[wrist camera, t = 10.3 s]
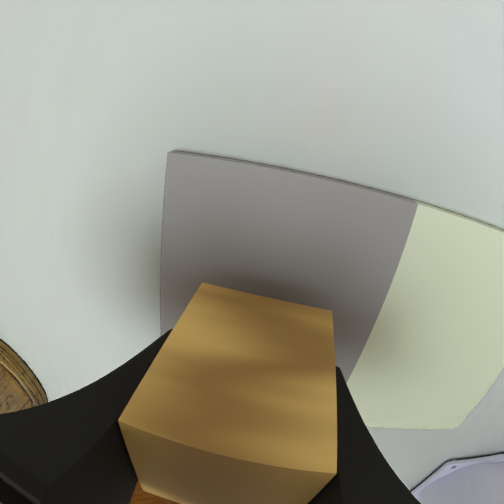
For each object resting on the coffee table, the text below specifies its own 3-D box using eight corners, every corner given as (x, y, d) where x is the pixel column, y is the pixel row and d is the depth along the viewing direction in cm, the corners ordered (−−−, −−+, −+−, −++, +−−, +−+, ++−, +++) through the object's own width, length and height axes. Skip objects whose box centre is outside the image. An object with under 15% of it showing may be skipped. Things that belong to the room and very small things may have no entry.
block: (332, 310, 10) (336, 473, 5) (299, 394, 12) (283, 525, 7) (202, 282, 11) (118, 420, 5) (196, 371, 13) (142, 490, 7)
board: (555, 251, 9) (561, 256, 9) (453, 421, 14) (455, 428, 14) (174, 150, 11) (167, 152, 11) (166, 377, 16) (162, 384, 16)
